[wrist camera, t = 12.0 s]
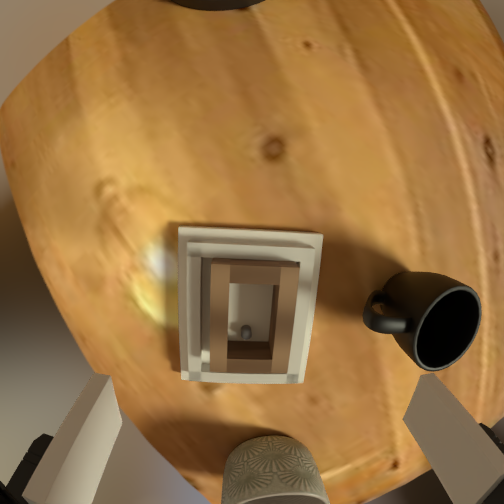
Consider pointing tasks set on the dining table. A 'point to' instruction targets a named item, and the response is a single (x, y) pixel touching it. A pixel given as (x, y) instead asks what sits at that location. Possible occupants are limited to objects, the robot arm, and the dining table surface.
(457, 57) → the dining table surface
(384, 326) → the mug
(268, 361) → the frame
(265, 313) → the white flat rectangular tray
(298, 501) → the planter
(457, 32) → the dining table surface
